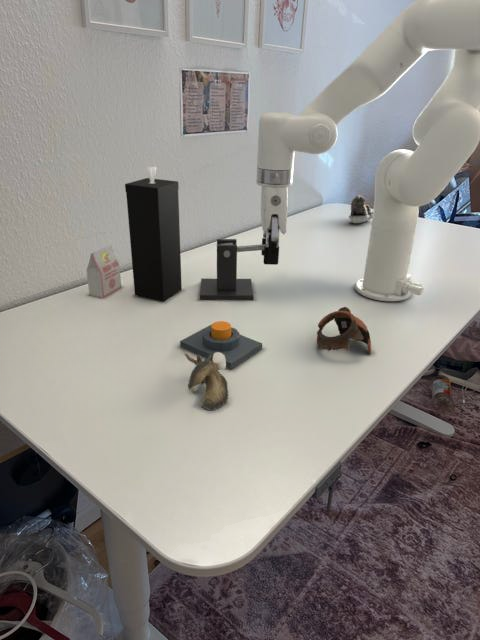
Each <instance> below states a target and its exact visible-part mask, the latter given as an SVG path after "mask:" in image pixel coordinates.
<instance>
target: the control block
mask: <svg viewBox="0 0 480 640" xmlns="http://www.w3.org/2000/svg"><path fill="white" fill-rule="evenodd" d="M212 324H213V323H211V324H210V325H208V326H206V327H204V328H202V329H200V330H198V331H196V332H194V333H192V334H190V335H189V336H187V337H185V338H182V339H181V340H179V346H180V347H179V348H181V349H184V350H186V351H188V352H191V353H193V354H195V355H197V356H198V355H200V357H201V358H204V359H205V360H206V359H208V357H209V355H211V358H210V362H212V358H213V354H214V353H215V352H220V353H222V354H223V355H225V359H226V368H227V369H228V370H233V369H235V368H236V367H237V366H239V365H241V364H242V363H244V362H245V361H247V360H248V359H249V358H251V357H253V356H254V355H256V354H258V353H259V352H260V351H262V350H263V343H262V342H260V341H258V340H255V339H253V338H249V337H247V336H245V335H243V334H240V331H238V329H237V328H235V327H232V326H231V337H230V338H228V339H224V340H220V339H214V338H212V336H211V325H212ZM226 368H225V369H226Z"/></svg>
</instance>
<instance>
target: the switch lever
mask: <svg viewBox="0 0 480 640" xmlns="http://www.w3.org/2000/svg"><path fill="white" fill-rule="evenodd" d="M226 244H230V245H233V243H226ZM264 246H266V244H262V243H261V244H251V245H249V244H248V245H237V253H242V252H243V253H244V252H256V251H262V250H264Z"/></svg>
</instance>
